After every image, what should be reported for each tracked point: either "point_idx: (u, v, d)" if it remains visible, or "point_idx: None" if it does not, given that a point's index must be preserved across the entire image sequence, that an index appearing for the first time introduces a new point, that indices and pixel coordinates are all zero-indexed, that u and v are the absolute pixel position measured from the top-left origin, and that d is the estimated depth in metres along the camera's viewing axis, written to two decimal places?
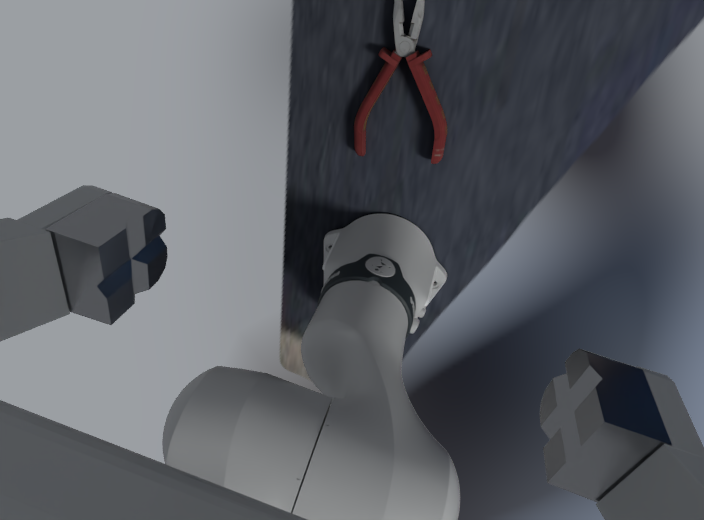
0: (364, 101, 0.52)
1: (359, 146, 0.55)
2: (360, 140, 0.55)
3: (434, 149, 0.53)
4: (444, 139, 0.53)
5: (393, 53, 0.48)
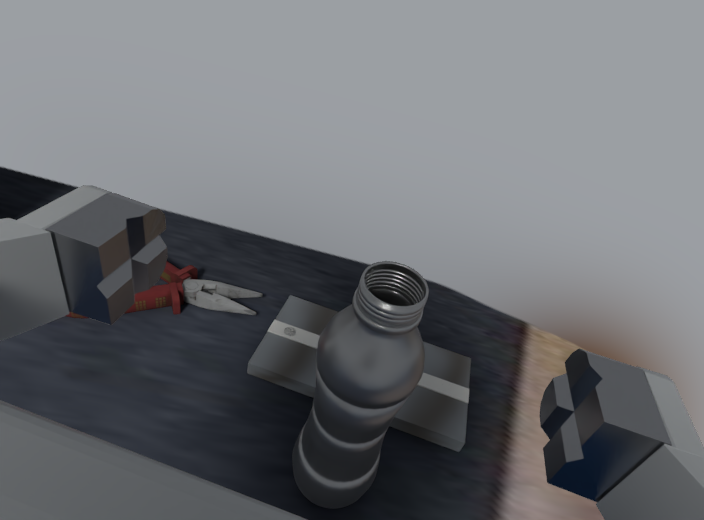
0: None
1: None
2: None
3: None
4: None
5: (189, 275, 0.46)
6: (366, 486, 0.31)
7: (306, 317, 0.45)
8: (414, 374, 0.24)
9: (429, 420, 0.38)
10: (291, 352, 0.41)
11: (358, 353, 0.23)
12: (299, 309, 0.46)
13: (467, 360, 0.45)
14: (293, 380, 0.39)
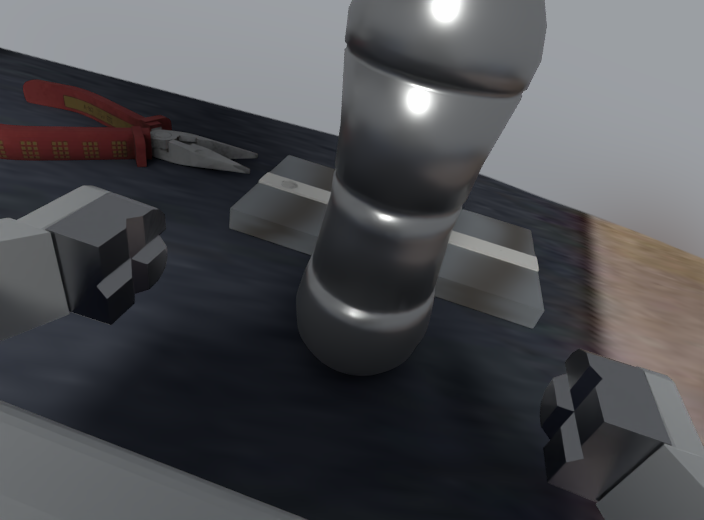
0: None
1: (42, 81, 0.36)
2: (51, 84, 0.36)
3: None
4: None
5: (159, 123, 0.35)
6: (416, 334, 0.19)
7: (310, 175, 0.34)
8: (539, 26, 0.12)
9: (490, 284, 0.27)
10: (291, 204, 0.30)
11: None
12: (301, 168, 0.34)
13: (526, 231, 0.34)
14: (294, 230, 0.27)
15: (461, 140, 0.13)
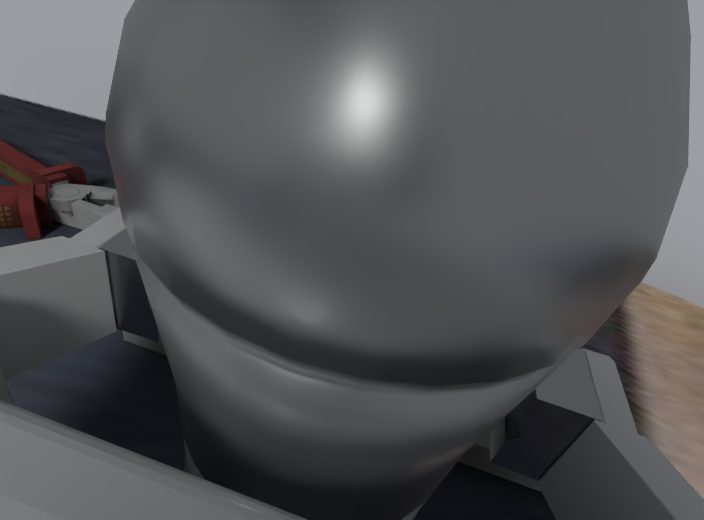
0: None
1: None
2: None
3: None
4: None
5: (65, 175, 0.26)
6: None
7: None
8: None
9: None
10: None
11: None
12: None
13: None
14: None
15: (433, 452, 0.05)
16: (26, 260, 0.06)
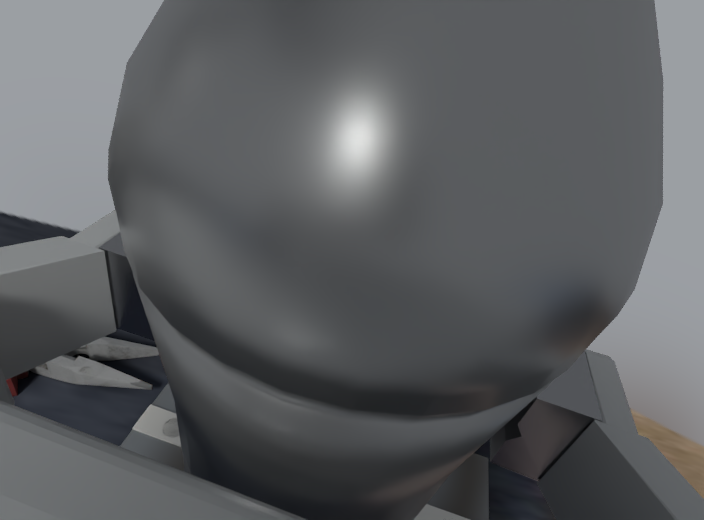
0: None
1: None
2: None
3: None
4: None
5: None
6: None
7: None
8: (655, 207, 0.04)
9: None
10: None
11: None
12: None
13: (482, 463, 0.27)
14: None
15: (422, 472, 0.05)
16: (26, 260, 0.06)
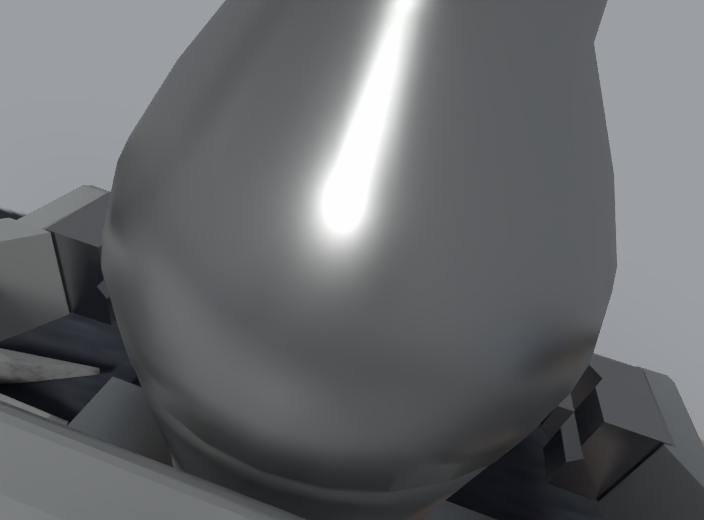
0: None
1: None
2: None
3: None
4: None
5: None
6: None
7: (133, 441, 0.18)
8: (603, 297, 0.04)
9: None
10: None
11: (273, 128, 0.03)
12: (122, 418, 0.19)
13: None
14: None
15: None
16: None
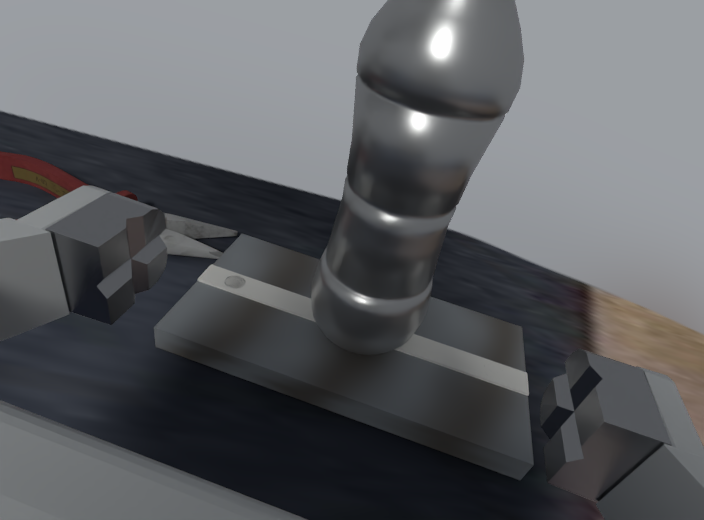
0: None
1: None
2: None
3: None
4: None
5: None
6: (416, 318, 0.22)
7: (264, 263, 0.29)
8: (516, 63, 0.15)
9: (468, 425, 0.22)
10: (233, 313, 0.25)
11: (434, 6, 0.14)
12: (254, 252, 0.29)
13: (517, 330, 0.29)
14: (231, 356, 0.22)
15: (453, 155, 0.16)
16: None
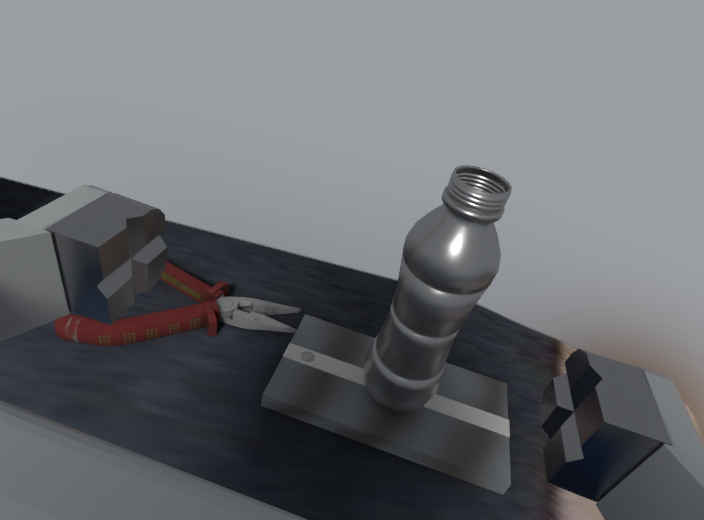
0: (174, 265, 0.44)
1: None
2: None
3: (80, 317, 0.36)
4: (90, 333, 0.36)
5: (222, 292, 0.42)
6: (435, 389, 0.34)
7: (324, 339, 0.41)
8: (495, 264, 0.27)
9: (469, 458, 0.34)
10: (310, 381, 0.37)
11: (450, 241, 0.26)
12: (316, 330, 0.41)
13: (503, 386, 0.41)
14: (314, 414, 0.34)
15: (460, 309, 0.28)
16: None
